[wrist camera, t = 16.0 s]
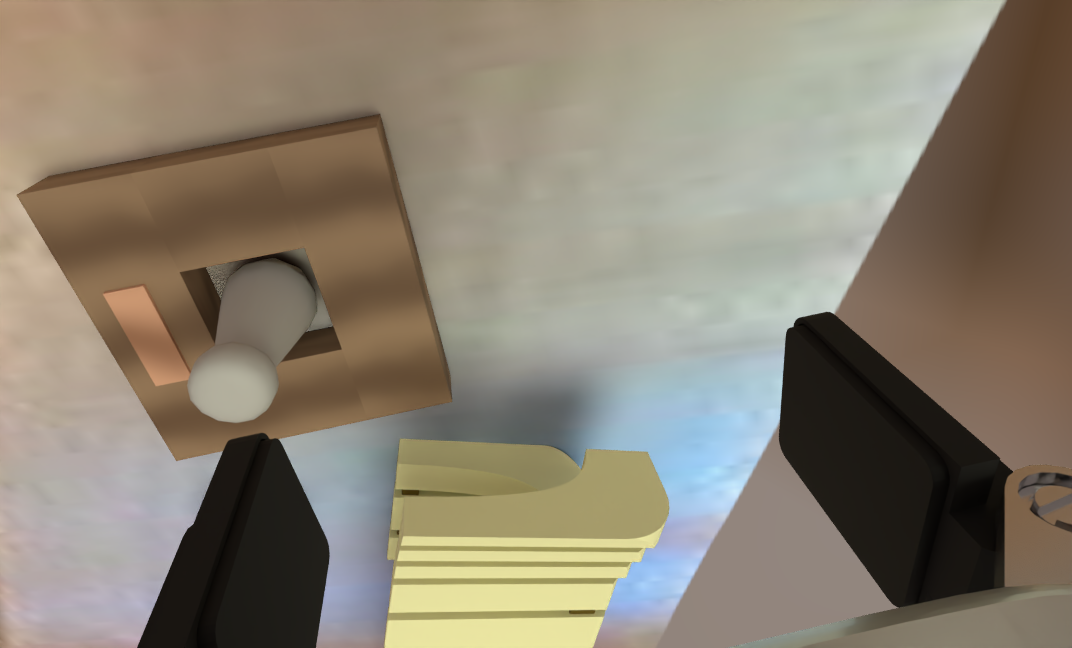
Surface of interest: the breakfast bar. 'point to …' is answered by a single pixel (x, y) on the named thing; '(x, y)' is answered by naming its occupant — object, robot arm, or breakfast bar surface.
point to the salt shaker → (252, 340)
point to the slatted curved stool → (513, 542)
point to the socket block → (241, 233)
